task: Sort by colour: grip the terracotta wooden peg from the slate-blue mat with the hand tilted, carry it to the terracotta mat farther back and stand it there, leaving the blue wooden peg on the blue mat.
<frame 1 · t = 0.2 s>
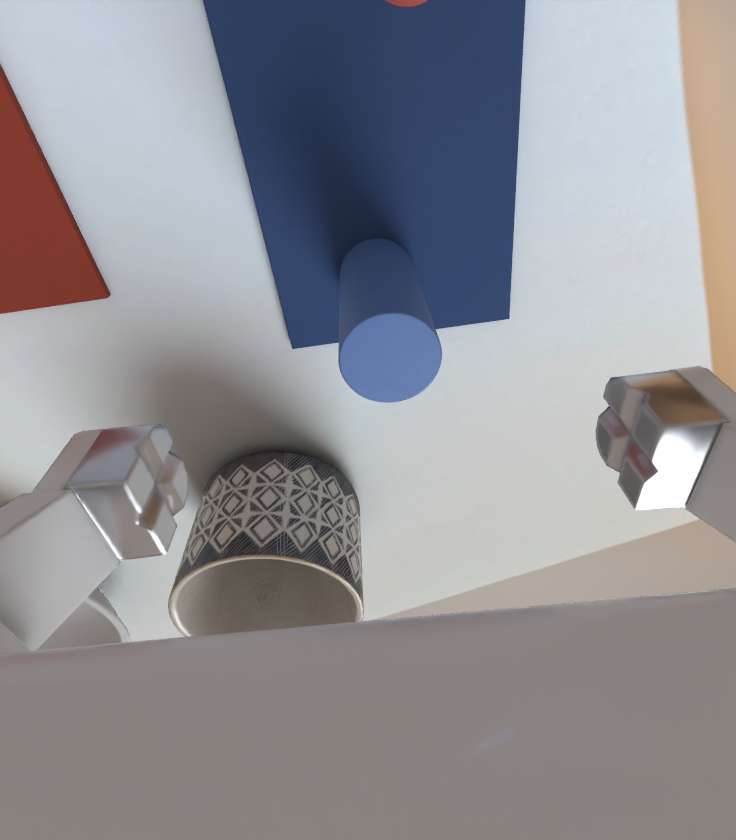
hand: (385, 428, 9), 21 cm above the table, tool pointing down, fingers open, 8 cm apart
planter: (283, 498, 40), on the table
blue mat: (379, 136, 24), on the table
dish: (57, 572, 45), on the table
blue peg: (376, 276, 28), resting on blue mat
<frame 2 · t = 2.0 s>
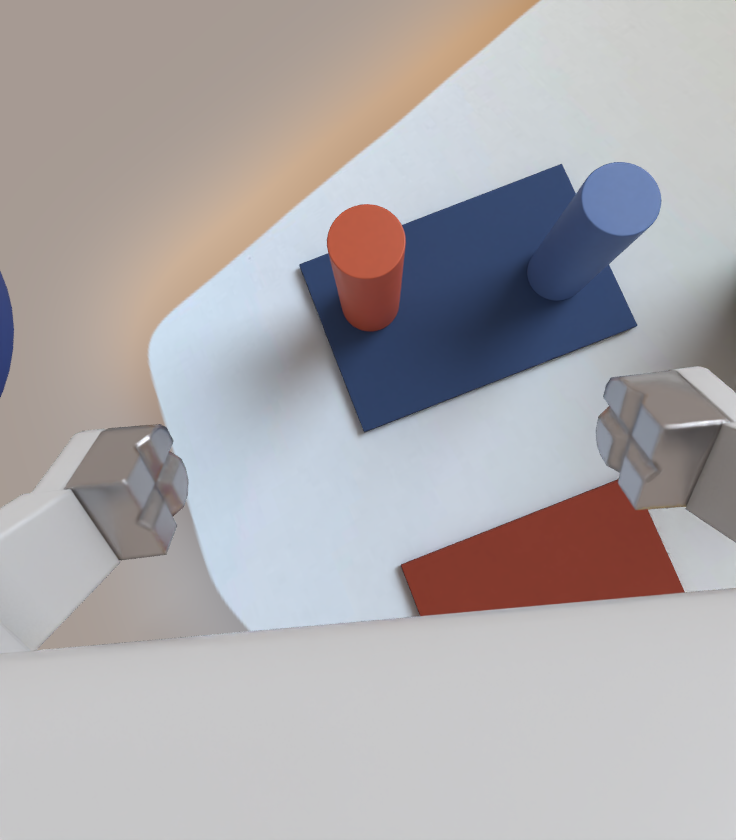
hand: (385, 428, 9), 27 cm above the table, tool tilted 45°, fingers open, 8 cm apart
red peg: (370, 303, 37), resting on blue mat
blue mat: (464, 296, 37), on the table
blue peg: (555, 273, 36), resting on blue mat
red mat: (559, 625, 34), on the table
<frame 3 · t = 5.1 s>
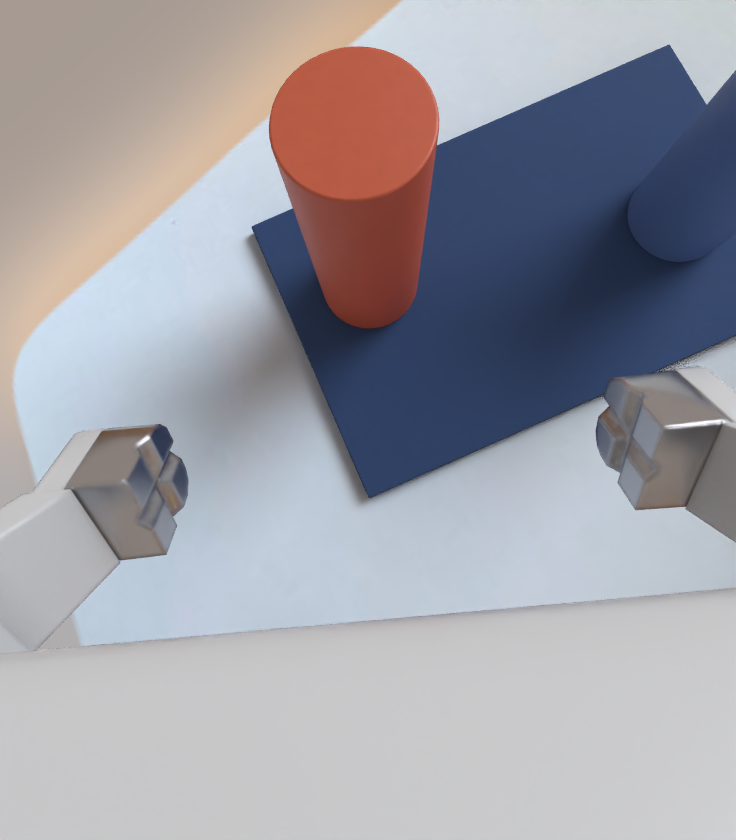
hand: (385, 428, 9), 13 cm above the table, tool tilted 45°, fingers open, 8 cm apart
red peg: (369, 283, 22), resting on blue mat
blue mat: (523, 264, 22), on the table
blue peg: (675, 217, 22), resting on blue mat
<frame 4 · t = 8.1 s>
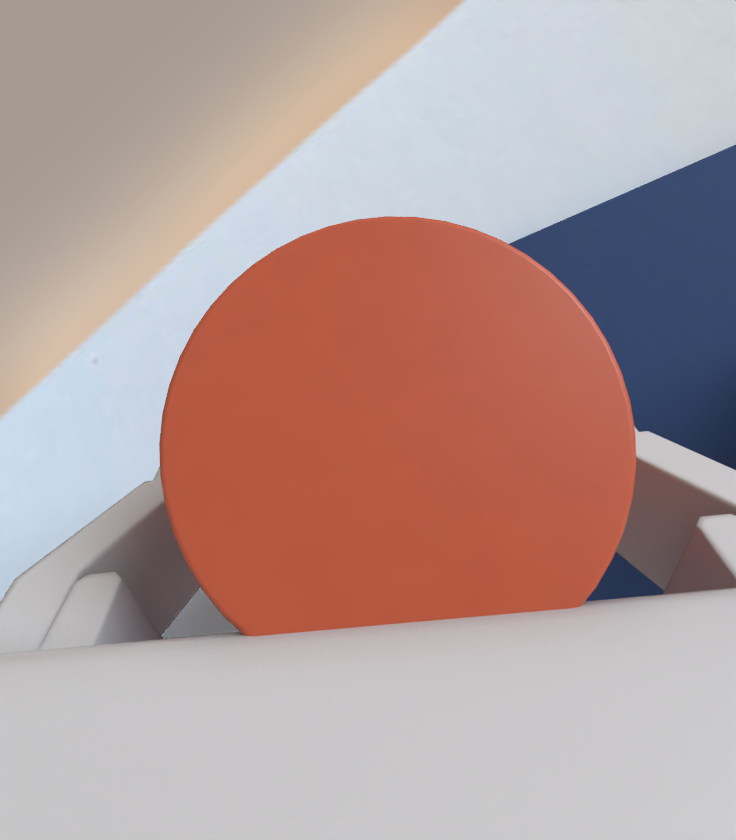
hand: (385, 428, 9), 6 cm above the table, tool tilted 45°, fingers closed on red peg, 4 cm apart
red peg: (391, 470, 14), point 1 cm above the table, touching blue mat, gripper
blue mat: (628, 438, 15), on the table
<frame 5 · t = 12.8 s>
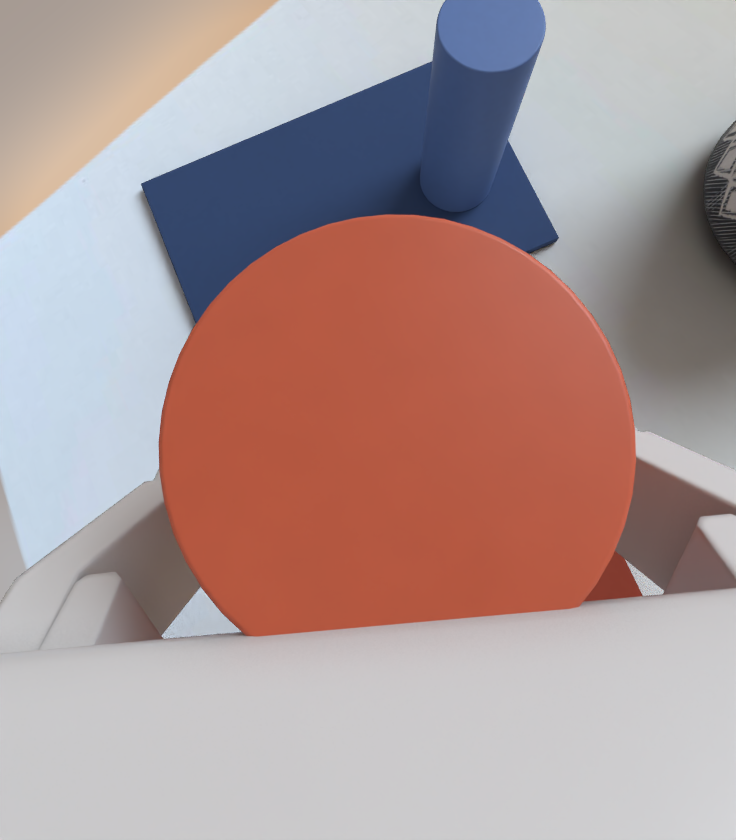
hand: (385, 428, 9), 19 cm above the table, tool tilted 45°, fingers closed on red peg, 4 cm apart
red peg: (391, 469, 14), point 13 cm above the table, touching gripper
blue mat: (345, 214, 30), on the table
blue peg: (455, 179, 29), resting on blue mat
red mat: (471, 620, 26), on the table
when the fingers open (6 cm above the table, at t = 17.8 s): red peg stays where it is, resting on red mat.
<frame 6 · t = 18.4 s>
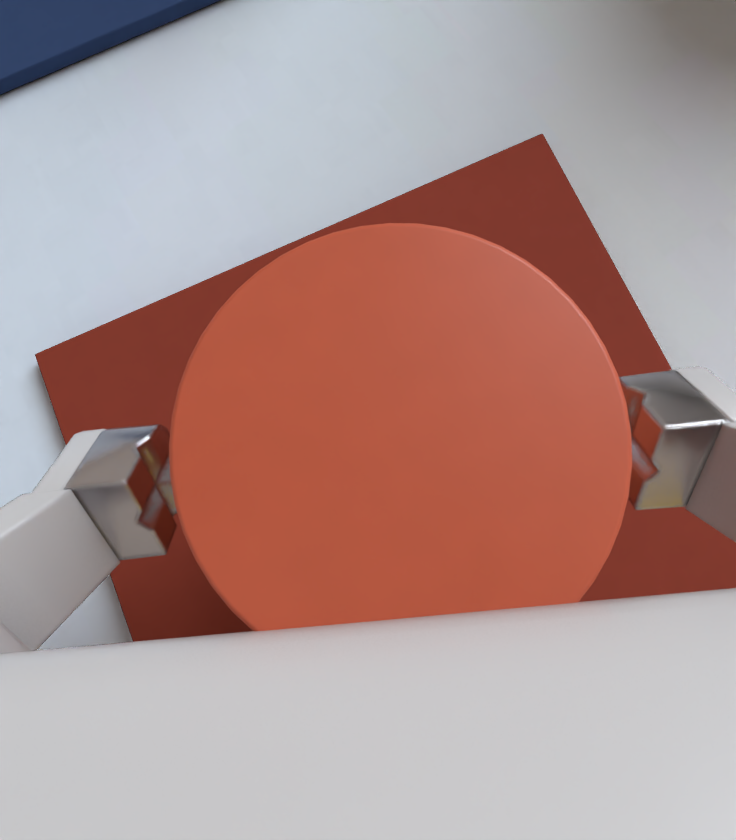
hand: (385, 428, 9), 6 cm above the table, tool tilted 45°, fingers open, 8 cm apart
red peg: (391, 469, 14), resting on red mat
red mat: (390, 470, 15), on the table
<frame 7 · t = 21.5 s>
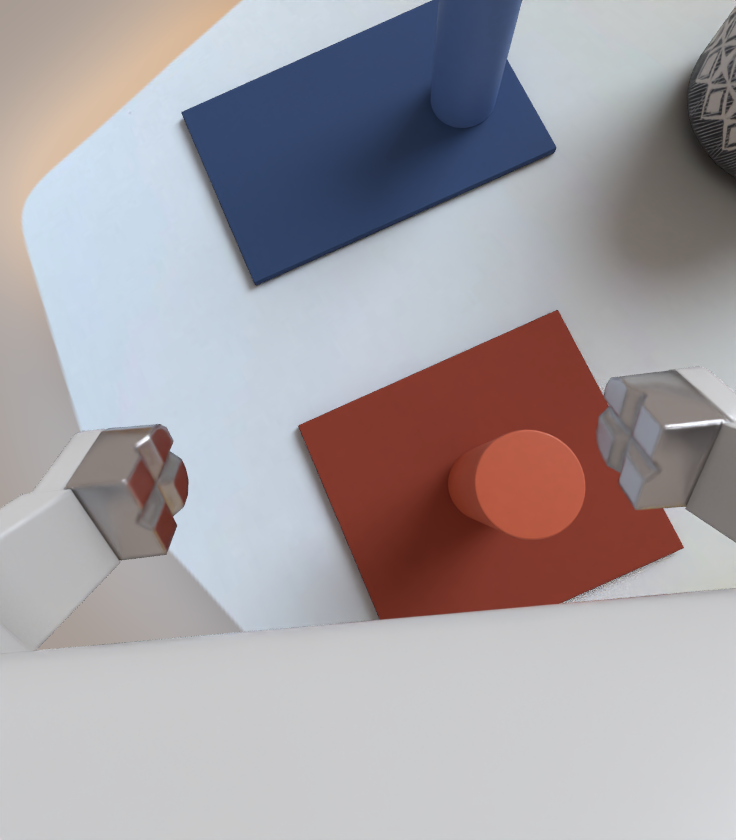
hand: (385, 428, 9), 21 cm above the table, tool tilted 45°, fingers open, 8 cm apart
red peg: (484, 484, 29), resting on red mat
blue mat: (363, 134, 33), on the table
blue peg: (462, 99, 33), resting on blue mat
red mat: (482, 484, 30), on the table
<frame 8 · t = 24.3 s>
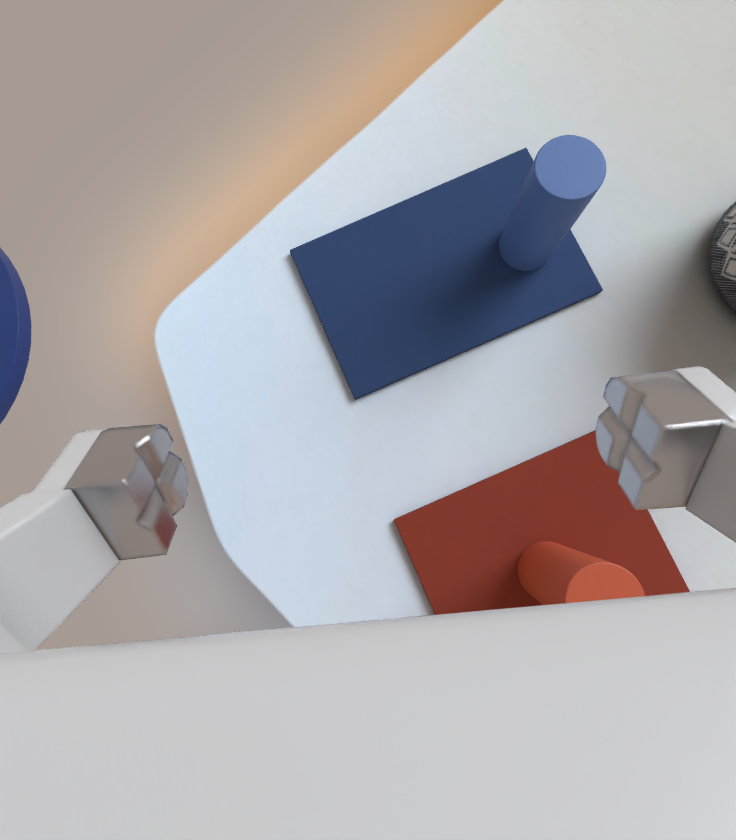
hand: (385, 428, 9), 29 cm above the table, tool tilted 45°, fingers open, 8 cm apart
red peg: (546, 570, 36), resting on red mat
blue mat: (442, 272, 40), on the table
blue peg: (525, 246, 40), resting on blue mat
red mat: (544, 569, 37), on the table
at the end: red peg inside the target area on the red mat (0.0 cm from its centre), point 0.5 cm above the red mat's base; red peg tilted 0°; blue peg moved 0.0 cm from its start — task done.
